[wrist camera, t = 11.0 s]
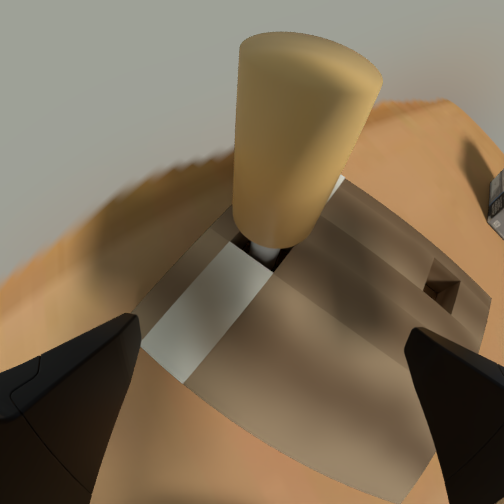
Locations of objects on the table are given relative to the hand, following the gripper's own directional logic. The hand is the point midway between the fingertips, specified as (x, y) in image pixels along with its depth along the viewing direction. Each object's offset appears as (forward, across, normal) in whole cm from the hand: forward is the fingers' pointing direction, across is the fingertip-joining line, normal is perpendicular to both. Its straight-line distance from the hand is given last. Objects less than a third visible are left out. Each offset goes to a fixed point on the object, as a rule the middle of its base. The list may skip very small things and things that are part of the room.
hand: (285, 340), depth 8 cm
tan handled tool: (+11, 0, +2) cm, 11 cm away
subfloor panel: (+8, -5, +5) cm, 10 cm away
